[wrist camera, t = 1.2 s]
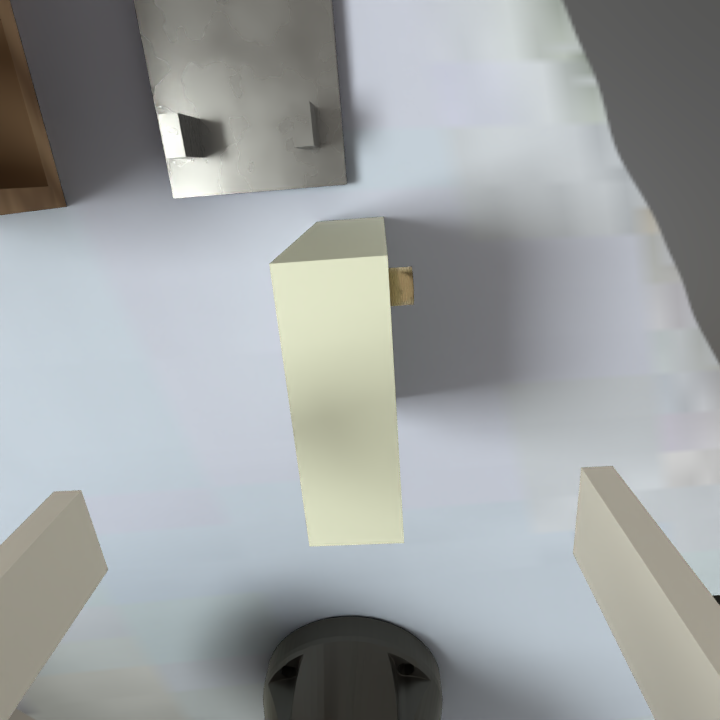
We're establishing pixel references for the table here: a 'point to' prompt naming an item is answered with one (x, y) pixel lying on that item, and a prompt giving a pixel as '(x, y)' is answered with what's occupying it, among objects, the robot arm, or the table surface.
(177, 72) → the grey pegged base plate
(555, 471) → the table surface
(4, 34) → the cabinet
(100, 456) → the table surface
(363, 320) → the door panel
